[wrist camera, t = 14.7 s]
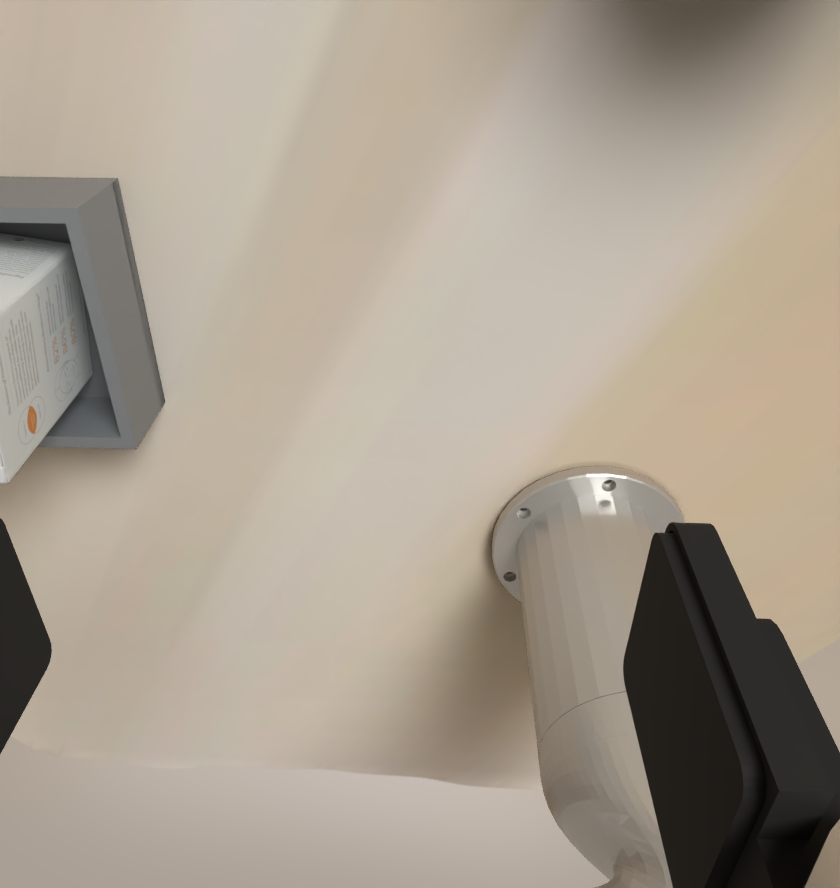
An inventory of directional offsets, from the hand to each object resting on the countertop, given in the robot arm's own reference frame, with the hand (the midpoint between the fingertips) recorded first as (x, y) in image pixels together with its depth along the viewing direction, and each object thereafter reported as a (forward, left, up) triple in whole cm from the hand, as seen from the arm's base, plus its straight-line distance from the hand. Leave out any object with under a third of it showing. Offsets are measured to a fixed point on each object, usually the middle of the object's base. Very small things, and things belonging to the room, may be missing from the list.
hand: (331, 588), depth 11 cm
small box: (+12, +19, -30) cm, 37 cm away
